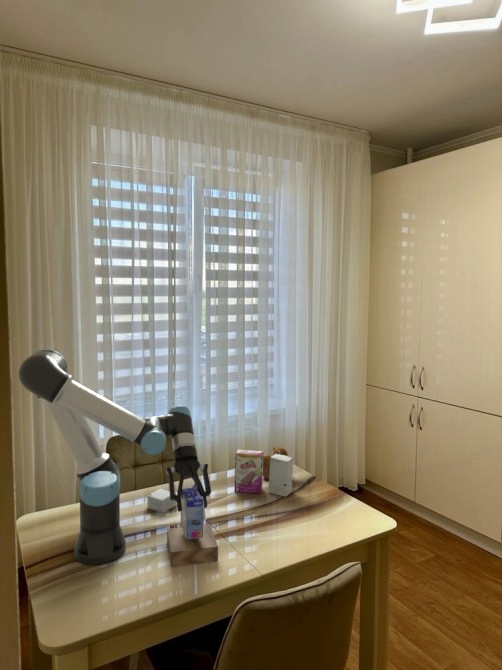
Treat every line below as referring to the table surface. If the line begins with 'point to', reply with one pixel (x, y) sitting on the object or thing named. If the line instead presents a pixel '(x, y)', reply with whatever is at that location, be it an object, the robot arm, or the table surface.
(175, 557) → the walnut block
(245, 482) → the candy bar box
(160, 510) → the small box
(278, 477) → the skincare box
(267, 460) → the stuffed squirrel
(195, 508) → the ink cartridge box
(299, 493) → the table surface
